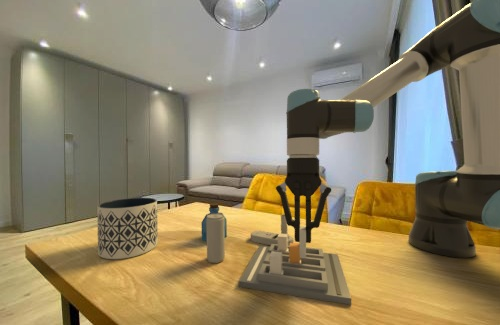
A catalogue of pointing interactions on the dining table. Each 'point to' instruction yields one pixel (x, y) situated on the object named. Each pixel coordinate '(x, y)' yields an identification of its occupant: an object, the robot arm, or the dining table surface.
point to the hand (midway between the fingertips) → (302, 255)
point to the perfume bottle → (213, 210)
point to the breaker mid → (294, 253)
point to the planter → (127, 227)
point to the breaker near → (276, 263)
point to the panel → (299, 275)
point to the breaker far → (282, 242)
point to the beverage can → (215, 238)
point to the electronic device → (271, 235)
